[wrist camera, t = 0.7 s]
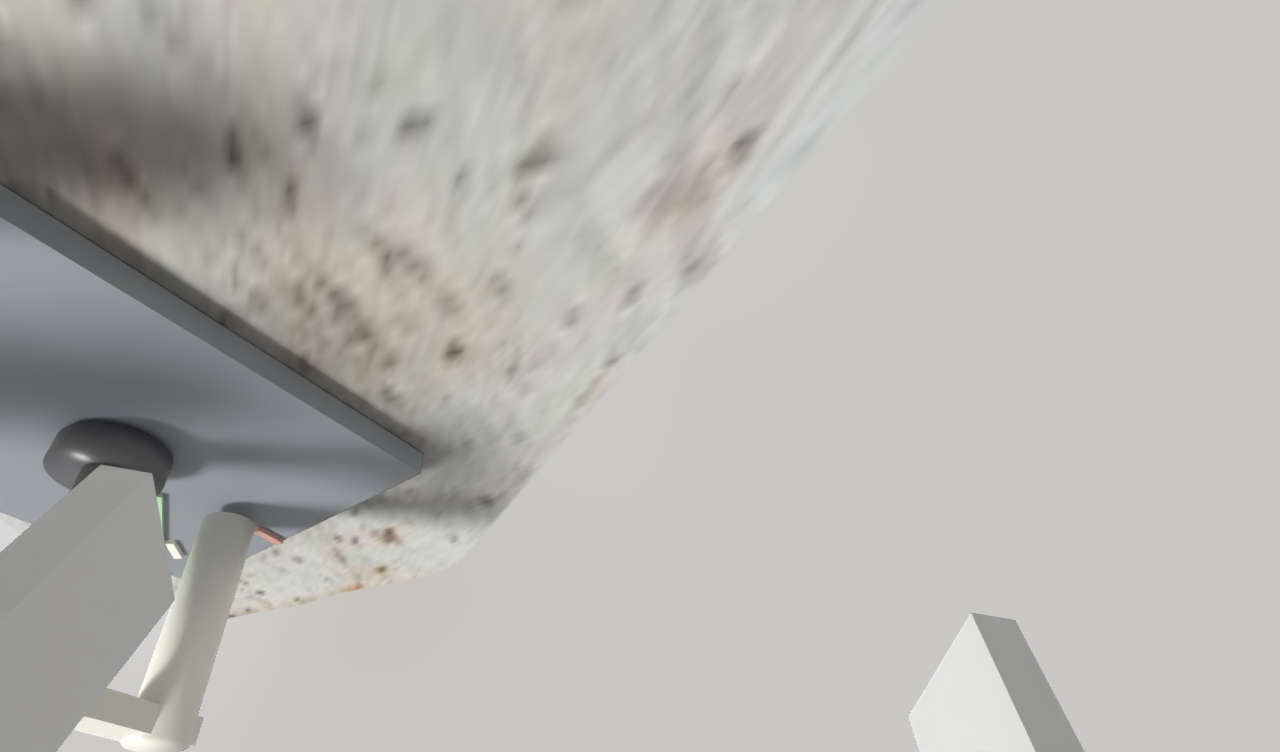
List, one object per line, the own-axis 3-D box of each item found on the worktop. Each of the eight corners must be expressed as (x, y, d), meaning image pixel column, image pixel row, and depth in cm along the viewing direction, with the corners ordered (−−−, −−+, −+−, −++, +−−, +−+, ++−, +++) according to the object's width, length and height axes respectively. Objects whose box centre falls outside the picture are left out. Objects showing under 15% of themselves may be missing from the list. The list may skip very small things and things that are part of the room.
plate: (-233, 395, 37) (-259, 423, 36) (-3, 181, 29) (-26, 207, 28) (200, 564, 53) (192, 587, 52) (423, 453, 45) (420, 477, 44)
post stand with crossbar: (29, 442, 39) (-147, 738, 29) (105, 409, 37) (-54, 709, 28) (216, 539, 47) (129, 793, 38) (283, 516, 46) (211, 773, 36)
